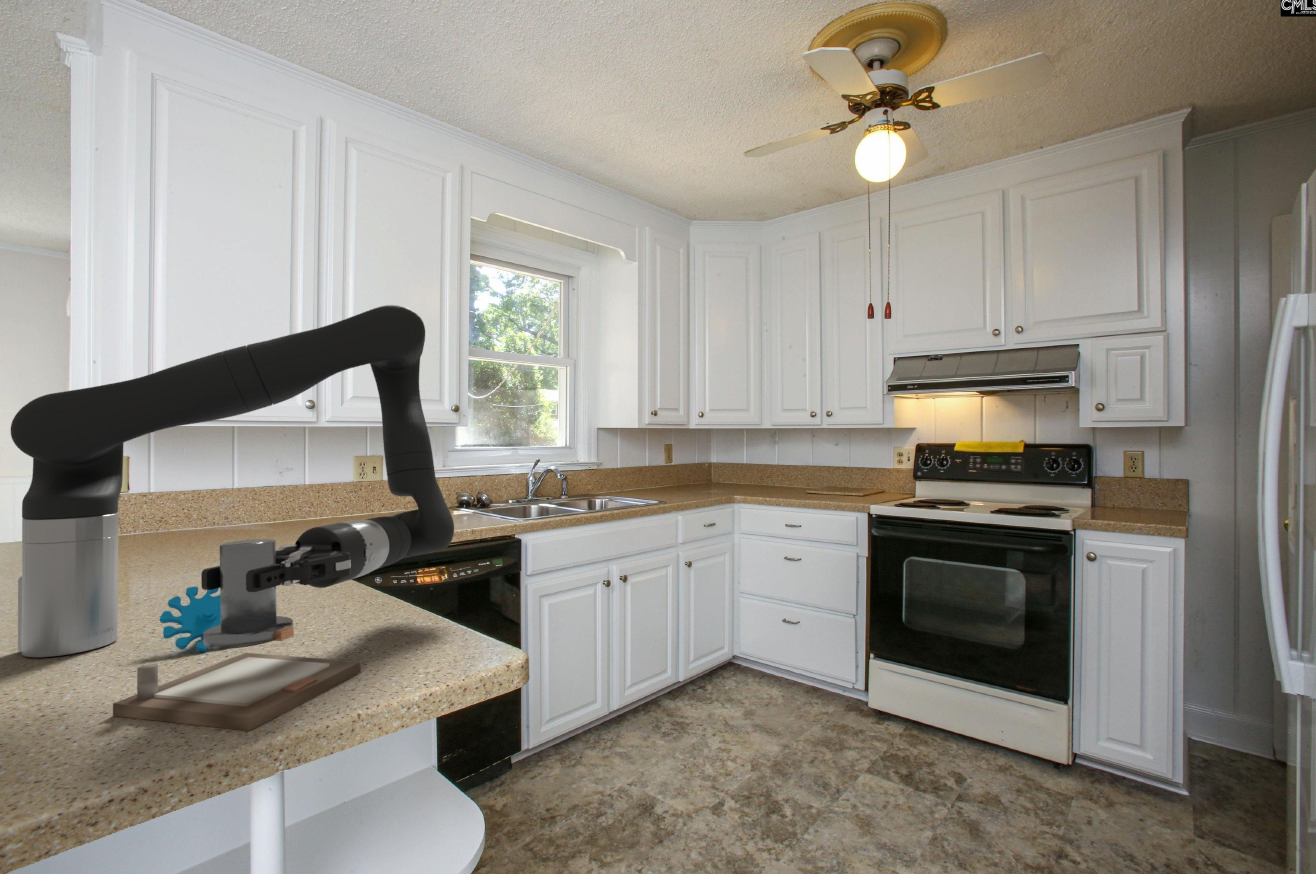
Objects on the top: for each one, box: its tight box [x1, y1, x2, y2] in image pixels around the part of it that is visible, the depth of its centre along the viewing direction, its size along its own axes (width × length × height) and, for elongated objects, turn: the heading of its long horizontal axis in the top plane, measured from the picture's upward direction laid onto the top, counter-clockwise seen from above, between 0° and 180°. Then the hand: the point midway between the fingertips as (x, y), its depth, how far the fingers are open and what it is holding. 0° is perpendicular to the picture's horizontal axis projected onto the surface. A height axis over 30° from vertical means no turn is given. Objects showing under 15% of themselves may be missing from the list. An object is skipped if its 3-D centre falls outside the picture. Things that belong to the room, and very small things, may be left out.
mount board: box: [112, 652, 362, 732], centre depth 66 cm, size 16×15×4 cm
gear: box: [159, 586, 221, 653], centre depth 84 cm, size 11×6×10 cm
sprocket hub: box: [202, 538, 295, 650], centre depth 67 cm, size 9×8×10 cm
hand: (227, 581), depth 64 cm, fingers closed on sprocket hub, 5 cm apart
